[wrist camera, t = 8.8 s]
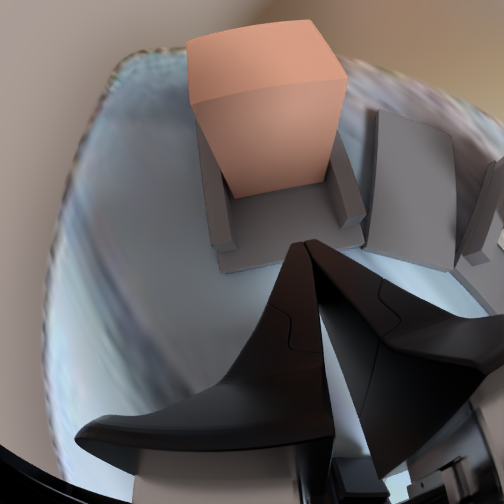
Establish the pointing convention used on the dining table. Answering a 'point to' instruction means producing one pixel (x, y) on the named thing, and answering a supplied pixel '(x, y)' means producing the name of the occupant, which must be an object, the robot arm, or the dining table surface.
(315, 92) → the terracotta key
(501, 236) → the cream key
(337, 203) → the grey tray
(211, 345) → the dining table surface
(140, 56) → the dining table surface
